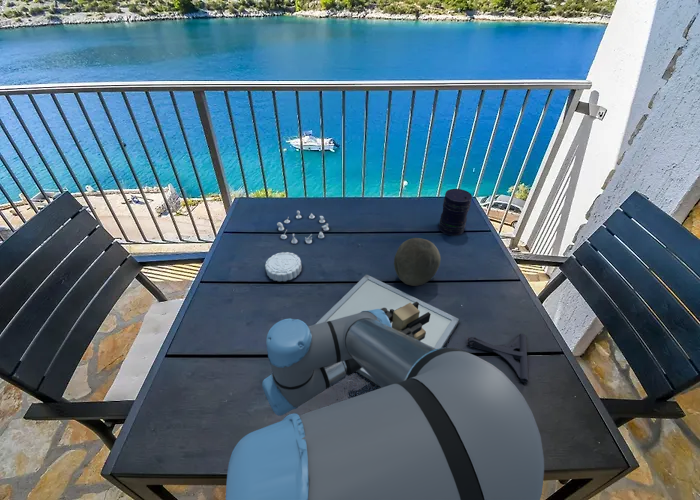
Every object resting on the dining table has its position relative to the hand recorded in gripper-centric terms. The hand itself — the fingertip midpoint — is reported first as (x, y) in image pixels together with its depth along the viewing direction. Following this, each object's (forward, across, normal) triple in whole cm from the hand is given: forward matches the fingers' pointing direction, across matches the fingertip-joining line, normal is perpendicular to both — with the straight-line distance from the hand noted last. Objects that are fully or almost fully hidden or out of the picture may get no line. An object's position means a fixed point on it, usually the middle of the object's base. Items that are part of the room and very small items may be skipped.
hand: (422, 311), depth 82 cm
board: (-2, -11, -17) cm, 20 cm away
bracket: (+19, +11, -17) cm, 28 cm away
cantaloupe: (+20, -22, -17) cm, 34 cm away
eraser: (-5, 0, -7) cm, 9 cm away
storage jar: (+52, -36, -17) cm, 65 cm away
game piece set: (+3, -68, -17) cm, 70 cm away
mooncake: (-14, -50, -17) cm, 55 cm away
